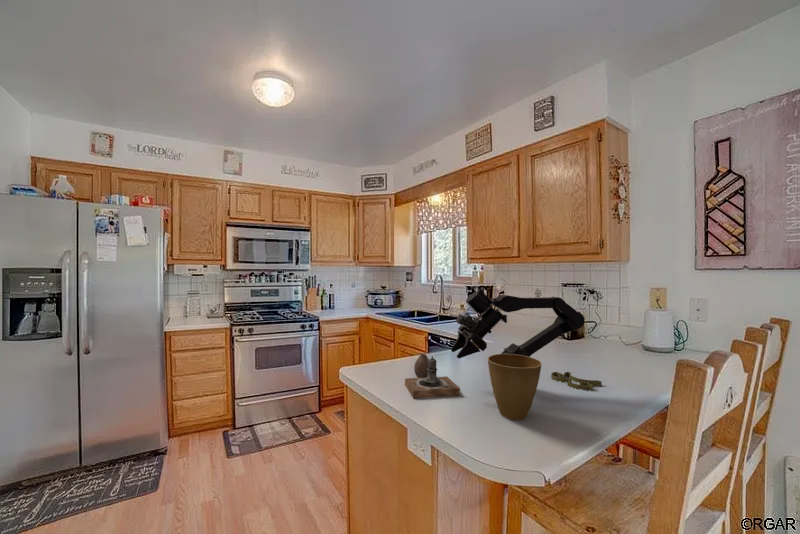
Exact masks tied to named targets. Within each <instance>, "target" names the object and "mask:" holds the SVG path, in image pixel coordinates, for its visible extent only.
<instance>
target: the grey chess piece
mask: <svg viewBox="0 0 800 534" xmlns="http://www.w3.org/2000/svg"><path fill="white" fill-rule="evenodd" d="M428 359H429V360H428V368H427V370H428V376H427V378H425V379H424V383H425V387H438V386H439V384H440V381H441V380H440V379H438V378H437V377H438V376H437V372H438V368H437V360H436V358H434V356H433V355H432V356H431V358H428Z"/></svg>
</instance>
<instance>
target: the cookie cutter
mask: <svg viewBox="0 0 800 534" xmlns="http://www.w3.org/2000/svg"><path fill="white" fill-rule="evenodd" d="M550 376H551V377H550V379H551V378H552V379H551V380H552V381H555V380H556V381H555V382H559V381H561V382H560V383H565V382H567V383H566V384H567V387H568V386H570V387H569V388H571V387H573V388H572V389H575V388H576V390H579V389H582V391H589V390H591V391H590V392H593V391H594V390H593V387H602V384H603V383H602V381H601V380H597V379H595V380H593V379H582V378H578V377H575V376H573V375H572V374H571V372H570V371H566V372H564V373H561V372H558V371H553V372H551V375H550ZM565 376H566V377H565ZM567 377H569V378H567ZM572 380H573V381H572ZM574 381H575V383H573V382H574ZM577 382H579V383H577Z"/></svg>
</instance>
